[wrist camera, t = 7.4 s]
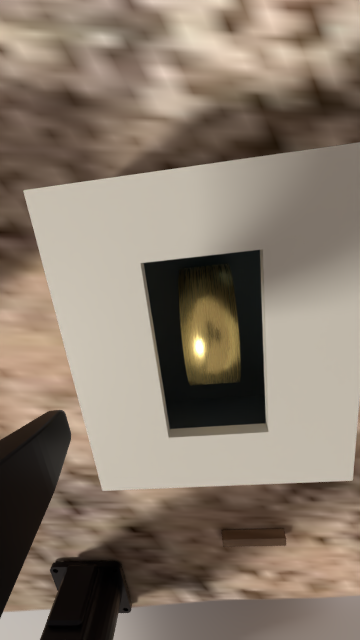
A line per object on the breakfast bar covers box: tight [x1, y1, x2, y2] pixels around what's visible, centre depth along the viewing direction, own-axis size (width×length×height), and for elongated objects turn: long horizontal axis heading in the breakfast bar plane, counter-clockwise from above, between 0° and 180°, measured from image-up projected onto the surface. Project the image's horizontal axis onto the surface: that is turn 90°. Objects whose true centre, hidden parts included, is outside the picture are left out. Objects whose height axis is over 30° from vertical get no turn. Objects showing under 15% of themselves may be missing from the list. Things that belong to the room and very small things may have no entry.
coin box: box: [23, 142, 360, 491], centre depth 16 cm, size 14×12×7 cm
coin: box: [178, 263, 241, 385], centre depth 16 cm, size 6×2×6 cm, turn 7°
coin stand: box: [222, 529, 286, 547], centre depth 24 cm, size 9×5×1 cm, turn 7°
